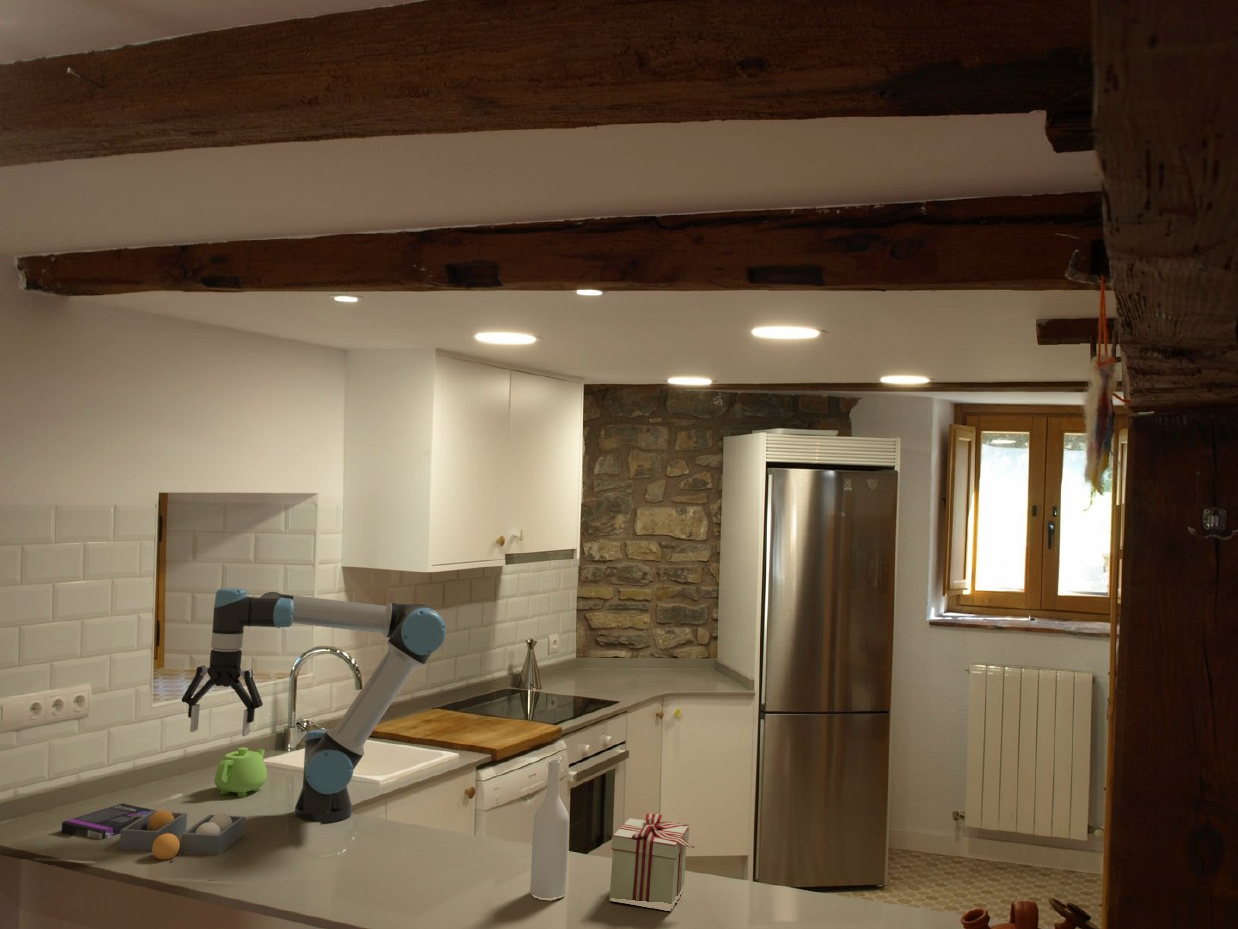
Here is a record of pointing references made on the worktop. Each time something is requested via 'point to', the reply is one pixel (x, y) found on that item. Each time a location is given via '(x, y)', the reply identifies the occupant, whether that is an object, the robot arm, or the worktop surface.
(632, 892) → the gift box
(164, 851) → the orange ball
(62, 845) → the worktop surface
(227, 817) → the cream ball
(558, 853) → the bottle
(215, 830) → the cream ball
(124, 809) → the box
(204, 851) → the ball tray
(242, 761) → the teapot
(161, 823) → the orange ball
